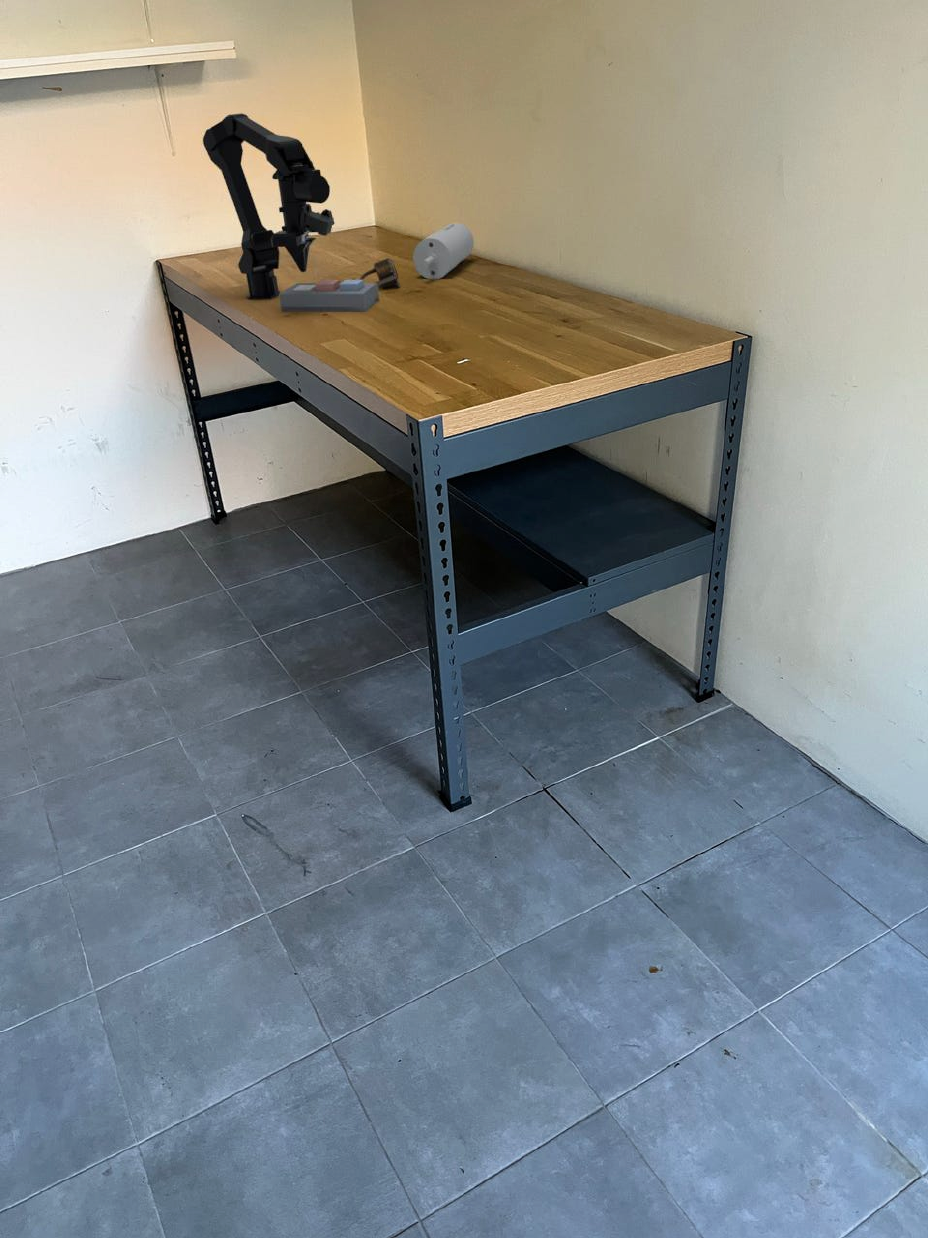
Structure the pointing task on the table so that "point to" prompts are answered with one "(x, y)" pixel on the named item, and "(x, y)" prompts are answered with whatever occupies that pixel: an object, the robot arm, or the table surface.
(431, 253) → the motor
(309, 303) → the key panel
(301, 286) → the white key
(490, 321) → the table surface
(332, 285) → the red key
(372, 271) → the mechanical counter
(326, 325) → the table surface
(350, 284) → the blue key
